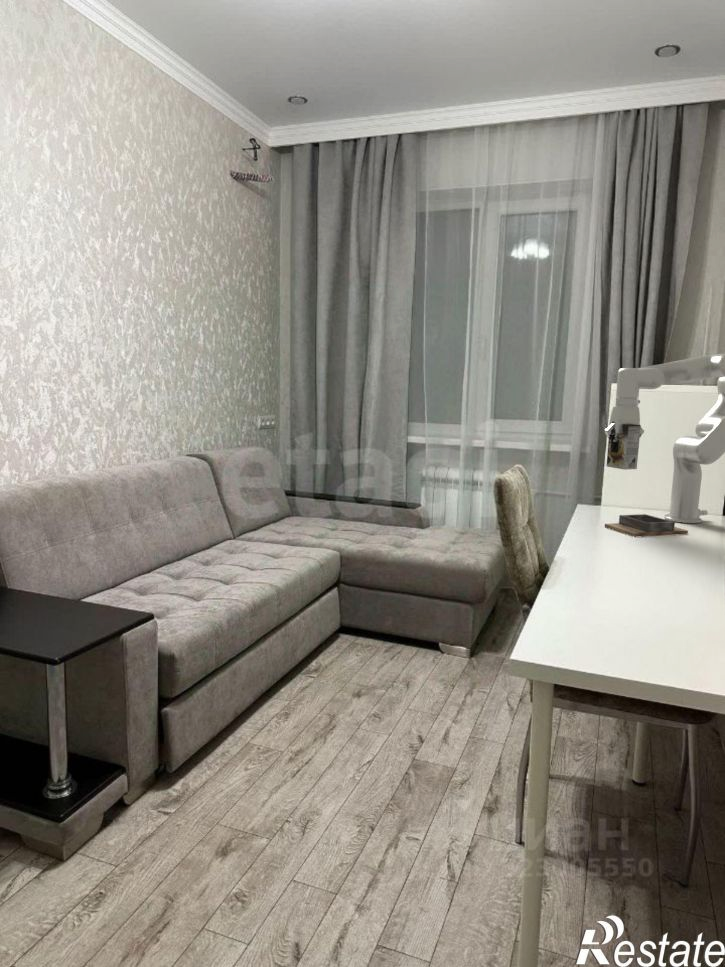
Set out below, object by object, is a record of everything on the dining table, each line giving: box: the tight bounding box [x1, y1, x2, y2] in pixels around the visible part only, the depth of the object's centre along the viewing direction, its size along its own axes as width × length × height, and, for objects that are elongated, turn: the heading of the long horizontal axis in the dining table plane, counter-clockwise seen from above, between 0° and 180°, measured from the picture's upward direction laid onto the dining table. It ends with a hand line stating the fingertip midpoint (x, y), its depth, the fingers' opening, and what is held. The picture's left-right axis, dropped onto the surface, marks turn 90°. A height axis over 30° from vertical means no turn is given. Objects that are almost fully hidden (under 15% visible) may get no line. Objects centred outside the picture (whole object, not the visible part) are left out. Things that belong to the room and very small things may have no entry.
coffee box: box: [606, 424, 642, 470], centre depth 236 cm, size 9×6×16 cm
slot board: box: [604, 513, 689, 538], centre depth 225 cm, size 22×15×4 cm
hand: (622, 452), depth 237 cm, fingers closed on coffee box, 6 cm apart
